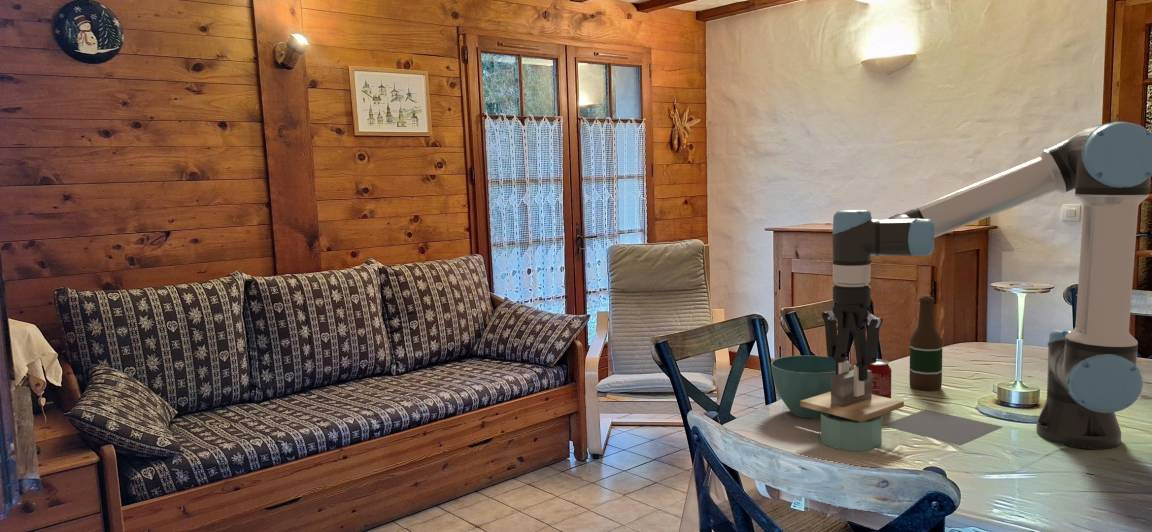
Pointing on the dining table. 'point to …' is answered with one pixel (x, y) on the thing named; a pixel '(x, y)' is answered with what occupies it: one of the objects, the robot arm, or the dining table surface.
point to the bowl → (851, 432)
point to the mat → (942, 426)
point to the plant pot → (803, 380)
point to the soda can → (881, 378)
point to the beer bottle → (926, 350)
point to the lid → (851, 399)
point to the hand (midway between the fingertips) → (851, 393)
